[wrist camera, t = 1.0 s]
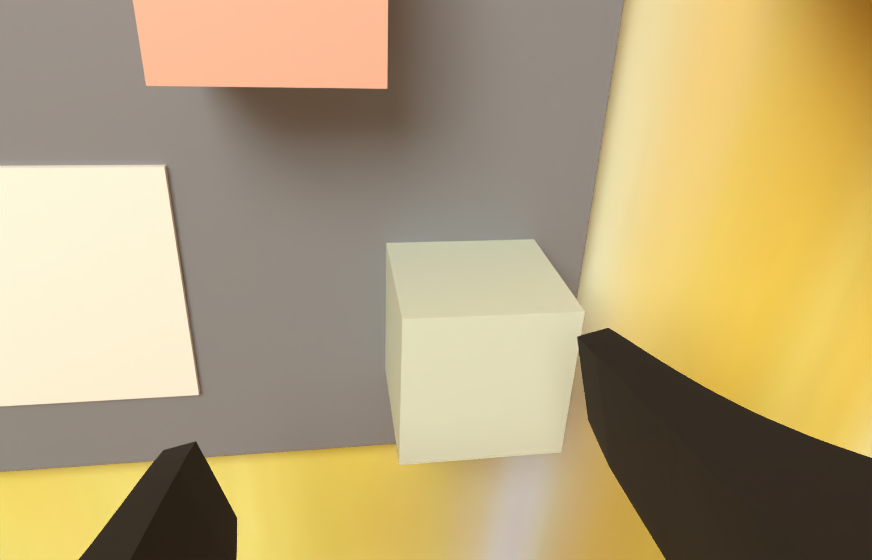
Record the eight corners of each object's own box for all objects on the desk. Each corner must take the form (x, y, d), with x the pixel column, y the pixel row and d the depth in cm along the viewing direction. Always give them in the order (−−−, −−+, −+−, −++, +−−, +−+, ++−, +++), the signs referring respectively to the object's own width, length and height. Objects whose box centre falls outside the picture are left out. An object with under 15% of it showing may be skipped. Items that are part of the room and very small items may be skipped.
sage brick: (534, 239, 20) (585, 311, 16) (519, 362, 22) (561, 452, 19) (386, 242, 20) (402, 319, 16) (385, 369, 22) (399, 464, 18)
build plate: (637, -189, 16) (658, -198, 15) (547, 414, 25) (557, 435, 24) (-288, -265, 13) (-340, -283, 12) (-26, 453, 22) (-44, 479, 21)
